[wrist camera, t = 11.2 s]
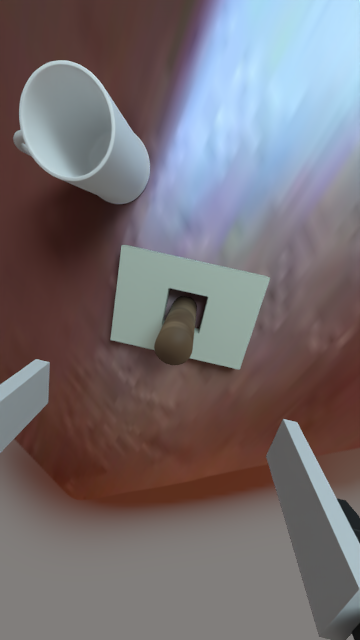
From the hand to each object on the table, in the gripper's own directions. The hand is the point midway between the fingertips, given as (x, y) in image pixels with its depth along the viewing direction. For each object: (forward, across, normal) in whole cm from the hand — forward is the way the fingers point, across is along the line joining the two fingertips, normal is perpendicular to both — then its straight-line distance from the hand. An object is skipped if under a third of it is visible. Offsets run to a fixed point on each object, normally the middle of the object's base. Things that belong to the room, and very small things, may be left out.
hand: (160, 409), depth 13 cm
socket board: (+23, 0, -1) cm, 23 cm away
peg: (+23, 0, -1) cm, 23 cm away
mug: (+24, -14, +15) cm, 32 cm away
